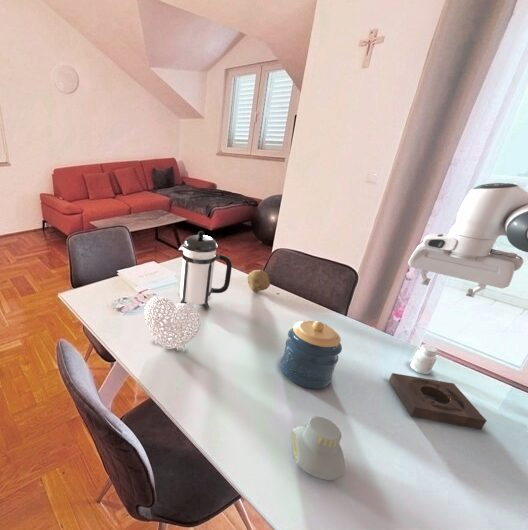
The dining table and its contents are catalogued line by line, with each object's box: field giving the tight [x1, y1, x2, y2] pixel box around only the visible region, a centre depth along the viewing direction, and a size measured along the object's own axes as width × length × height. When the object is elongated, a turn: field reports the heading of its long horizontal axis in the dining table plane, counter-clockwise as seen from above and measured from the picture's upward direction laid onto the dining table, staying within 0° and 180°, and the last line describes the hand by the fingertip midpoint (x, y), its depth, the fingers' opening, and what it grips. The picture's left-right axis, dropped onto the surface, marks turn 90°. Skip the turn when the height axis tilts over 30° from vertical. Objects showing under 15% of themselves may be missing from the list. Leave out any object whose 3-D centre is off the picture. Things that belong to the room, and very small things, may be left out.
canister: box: [280, 320, 343, 390], centre depth 87 cm, size 13×13×18 cm
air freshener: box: [290, 416, 346, 481], centre depth 65 cm, size 11×8×10 cm
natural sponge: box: [247, 269, 271, 293], centre depth 133 cm, size 9×9×10 cm
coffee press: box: [178, 230, 233, 310], centre depth 122 cm, size 17×16×30 cm
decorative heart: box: [143, 296, 201, 352], centre depth 98 cm, size 18×11×17 cm, turn 60°
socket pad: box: [388, 372, 488, 430], centre depth 80 cm, size 14×12×3 cm
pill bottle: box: [410, 344, 439, 375], centre depth 90 cm, size 4×4×8 cm
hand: (446, 290), depth 89 cm, fingers open, 8 cm apart
